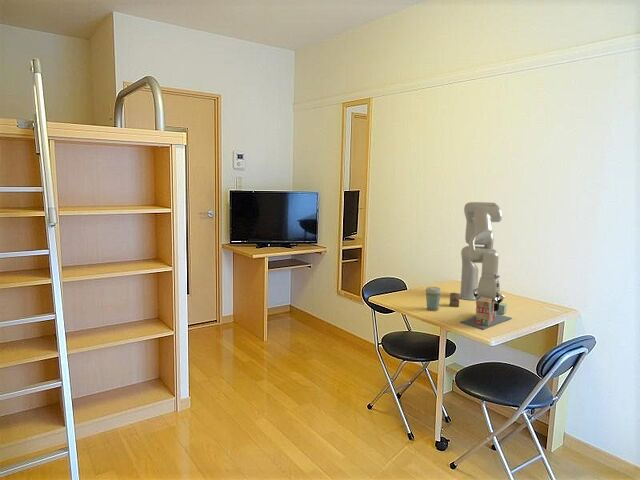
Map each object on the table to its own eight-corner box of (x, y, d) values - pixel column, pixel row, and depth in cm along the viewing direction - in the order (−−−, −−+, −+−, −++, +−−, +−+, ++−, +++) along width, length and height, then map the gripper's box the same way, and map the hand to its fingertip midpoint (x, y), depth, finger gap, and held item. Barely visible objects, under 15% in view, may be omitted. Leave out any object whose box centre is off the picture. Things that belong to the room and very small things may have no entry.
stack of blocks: (484, 312, 242) (486, 290, 240) (496, 314, 239) (498, 292, 237) (475, 323, 224) (476, 299, 222) (488, 326, 221) (489, 301, 219)
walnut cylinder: (453, 304, 260) (453, 292, 259) (460, 306, 257) (461, 294, 256) (447, 305, 257) (448, 293, 256) (455, 307, 254) (456, 295, 252)
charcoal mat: (488, 312, 244) (489, 311, 244) (511, 318, 234) (512, 317, 234) (459, 322, 227) (460, 321, 227) (483, 329, 217) (483, 328, 217)
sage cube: (496, 310, 248) (497, 302, 248) (506, 312, 246) (507, 303, 245) (494, 313, 244) (494, 304, 244) (503, 314, 242) (504, 305, 241)
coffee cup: (428, 306, 255) (429, 285, 253) (443, 309, 250) (444, 288, 248) (421, 309, 249) (422, 288, 247) (436, 312, 243) (437, 291, 242)
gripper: (509, 278, 223) (507, 311, 226) (478, 272, 236) (476, 303, 239) (501, 280, 218) (499, 314, 221) (469, 273, 232) (467, 306, 234)
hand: (487, 308), depth 230 cm, fingers open, 9 cm apart
